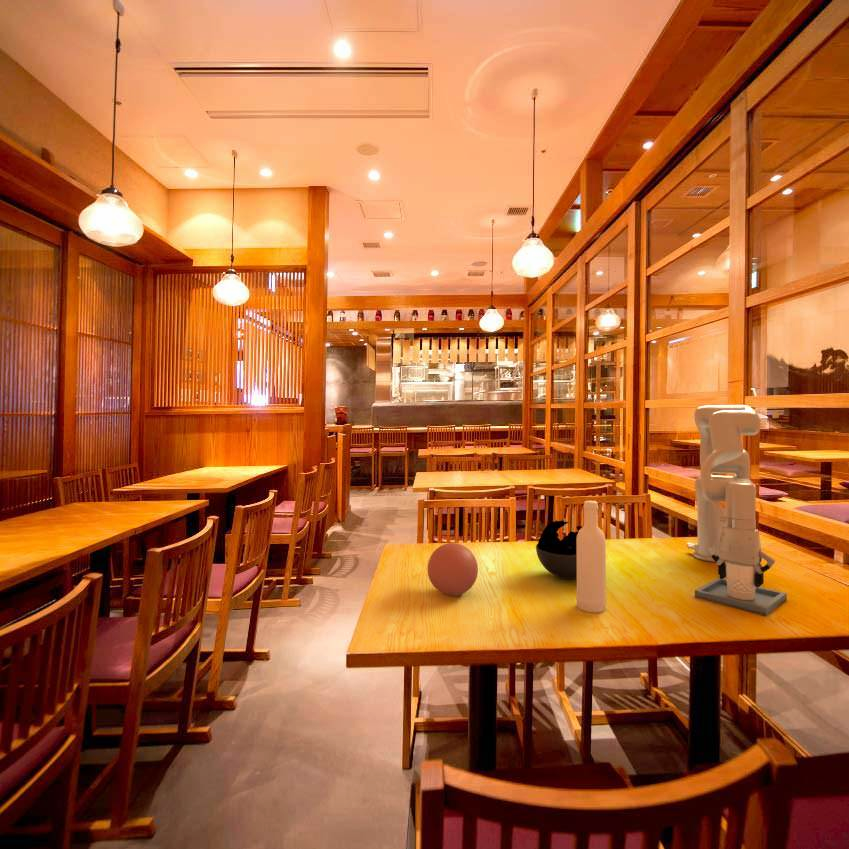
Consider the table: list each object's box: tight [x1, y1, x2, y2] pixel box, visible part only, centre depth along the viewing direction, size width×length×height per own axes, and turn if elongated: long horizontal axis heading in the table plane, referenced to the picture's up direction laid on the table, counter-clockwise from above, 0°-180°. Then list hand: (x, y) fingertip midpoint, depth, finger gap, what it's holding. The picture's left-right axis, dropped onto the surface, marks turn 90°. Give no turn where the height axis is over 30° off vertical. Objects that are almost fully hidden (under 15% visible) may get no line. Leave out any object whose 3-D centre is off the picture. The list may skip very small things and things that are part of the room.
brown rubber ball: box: [427, 542, 479, 596], centre depth 148 cm, size 15×20×15 cm
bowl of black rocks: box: [535, 520, 583, 580], centre depth 160 cm, size 20×20×19 cm
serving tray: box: [694, 577, 788, 617], centre depth 140 cm, size 18×18×2 cm
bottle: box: [576, 500, 607, 614], centre depth 134 cm, size 8×8×30 cm
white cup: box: [724, 561, 757, 600], centre depth 140 cm, size 8×8×10 cm
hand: (740, 581), depth 140 cm, fingers open, 8 cm apart
